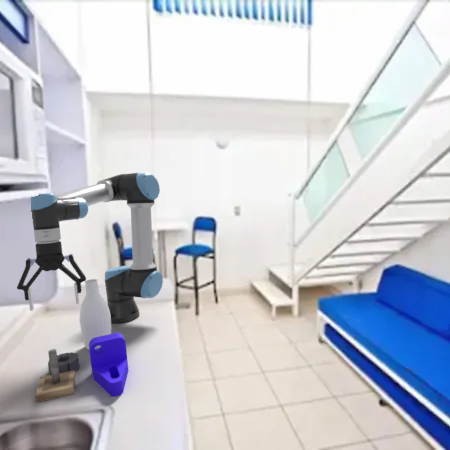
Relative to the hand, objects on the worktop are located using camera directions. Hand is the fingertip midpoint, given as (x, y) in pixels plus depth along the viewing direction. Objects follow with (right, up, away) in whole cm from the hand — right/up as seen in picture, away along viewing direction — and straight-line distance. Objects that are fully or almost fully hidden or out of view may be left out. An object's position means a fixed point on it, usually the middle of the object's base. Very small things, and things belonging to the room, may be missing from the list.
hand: (55, 306), depth 122 cm
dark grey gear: (+2, -22, +3) cm, 22 cm away
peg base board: (+4, -23, -8) cm, 25 cm away
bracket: (+21, -22, -6) cm, 31 cm away
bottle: (+7, -20, +21) cm, 29 cm away
